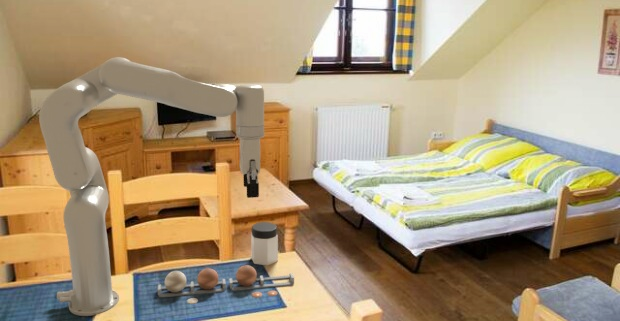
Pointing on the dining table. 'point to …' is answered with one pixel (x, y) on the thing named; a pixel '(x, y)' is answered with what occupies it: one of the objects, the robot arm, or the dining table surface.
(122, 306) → the dining table surface
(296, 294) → the dining table surface
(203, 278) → the terracotta ball
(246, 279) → the terracotta ball
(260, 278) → the grey ball rail
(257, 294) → the tiles
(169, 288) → the cream ball
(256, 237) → the jar
